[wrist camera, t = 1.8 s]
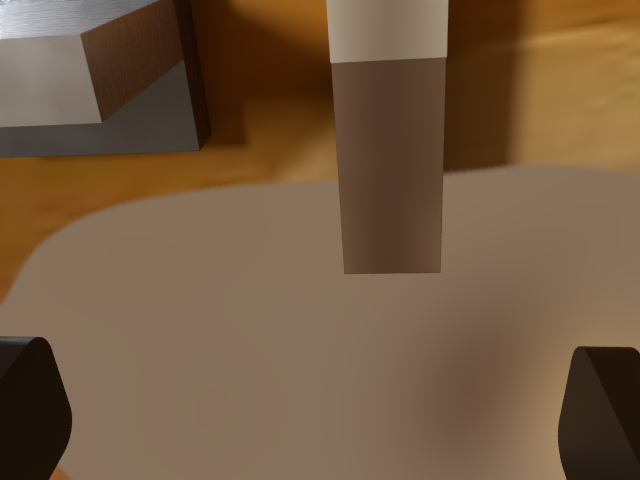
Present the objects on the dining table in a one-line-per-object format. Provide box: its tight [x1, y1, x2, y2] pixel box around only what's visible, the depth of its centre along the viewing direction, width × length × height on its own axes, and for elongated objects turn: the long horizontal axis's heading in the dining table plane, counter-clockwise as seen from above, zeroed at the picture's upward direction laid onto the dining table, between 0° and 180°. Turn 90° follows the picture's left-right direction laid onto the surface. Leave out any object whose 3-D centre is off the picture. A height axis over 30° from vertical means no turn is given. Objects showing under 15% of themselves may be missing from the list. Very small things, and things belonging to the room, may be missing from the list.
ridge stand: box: [0, 0, 211, 158], centre depth 22 cm, size 10×10×10 cm
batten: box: [326, 0, 448, 274], centre depth 23 cm, size 4×20×4 cm, turn 4°
